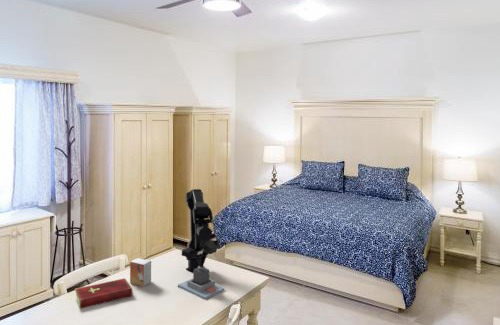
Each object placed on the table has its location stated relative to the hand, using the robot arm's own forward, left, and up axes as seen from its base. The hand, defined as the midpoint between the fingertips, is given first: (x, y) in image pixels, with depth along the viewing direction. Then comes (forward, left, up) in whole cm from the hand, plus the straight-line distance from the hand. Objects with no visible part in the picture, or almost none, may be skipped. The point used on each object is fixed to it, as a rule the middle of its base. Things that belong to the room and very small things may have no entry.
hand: (201, 267), depth 169 cm
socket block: (0, 0, -10) cm, 10 cm away
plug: (0, 0, -9) cm, 9 cm away
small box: (-25, -15, -10) cm, 31 cm away
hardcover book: (-25, -33, -11) cm, 43 cm away
